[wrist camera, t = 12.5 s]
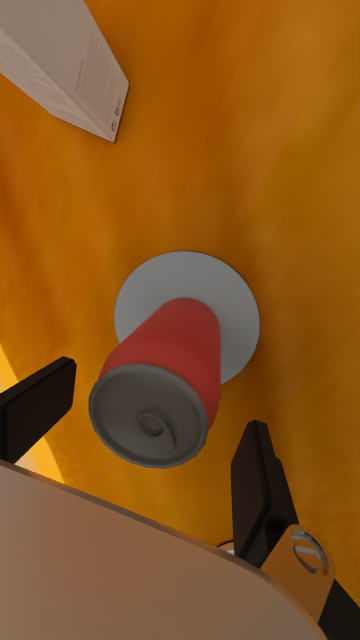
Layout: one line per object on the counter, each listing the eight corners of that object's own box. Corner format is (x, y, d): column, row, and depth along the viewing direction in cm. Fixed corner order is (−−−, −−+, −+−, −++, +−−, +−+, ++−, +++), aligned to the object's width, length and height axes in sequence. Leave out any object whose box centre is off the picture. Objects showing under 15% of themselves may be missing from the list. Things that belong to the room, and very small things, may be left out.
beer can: (179, 371, 22) (136, 494, 11) (139, 320, 21) (49, 397, 10) (234, 339, 20) (252, 450, 9) (193, 281, 19) (156, 323, 8)
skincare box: (131, 82, 17) (-52, -264, 5) (115, 145, 18) (-56, -28, 7) (61, 52, 17) (-254, -343, 6) (51, 116, 18) (-216, -97, 7)
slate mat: (283, 353, 21) (286, 357, 20) (164, 402, 25) (162, 408, 24) (212, 218, 19) (211, 217, 18) (93, 298, 23) (88, 300, 22)
